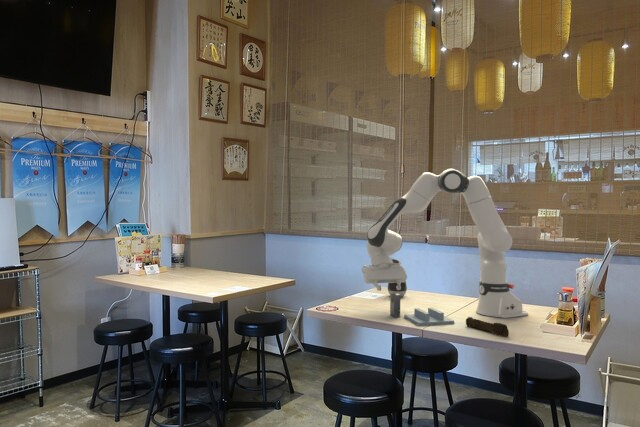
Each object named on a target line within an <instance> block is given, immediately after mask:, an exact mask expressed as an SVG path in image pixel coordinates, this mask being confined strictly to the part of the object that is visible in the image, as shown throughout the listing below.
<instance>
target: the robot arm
mask: <svg viewBox="0 0 640 427" xmlns="http://www.w3.org/2000/svg"><path fill="white" fill-rule="evenodd" d="M439 192H443V193H446V194H458V193H459V194H461V195H462V196H463V198H464V200H465V203H466V206H467V209H468V212H469V214H470V216H471V219H472V221H473V223H474V224H475V226H476V227H477V230H478V231H479V232H478V234H477V237H476V238H477V239H476V240H477V244H478V254H479V261H480V275H479V276H480V277H479V278H480V280H479V283H478V284H479V285H478V286H479V287H478V291H479V295H478V296H479V297H478V302H477V307H476V309H475V310H476V311H475V312H476V313H477V314H480V315H483V316H487V317H495V318H496V317H497V318H503V319H507V318H515V317H517V318H518V317H523V316H528V315H529V312H528V311H526V310H524V309H523V303H522V300H520V299H519V297H517V296H516V295H515V294H513V293H512V291H511V290H513V289H514V288H515V284H512V283H507V263H506V259H505V252H508V251H509V250H510V249H511V248H512V246H513V237H512V235H511V234H510V232H509V231H508V228H507V227H506V225H505V223H504V221H503V220H502V218H501V216H500V214H499V213H498V210H497V207H496V205H495V203H494V200H493V197H492V195H491V193H490V191H489V188H488V187H487V185H486V183H485V181H484V180H483V179H482V177H480V176H478V175H472V176H469V177H467V176H466V175H465V174H464V173H463V172H461V171H460V170H457V169H455V168H447V169H445V170H443V172H441V173H439V174H434V173H432V172H428V171H427V172H423V173H421V175H420V176H418V178H417V179H416V180H415V181H414V183H413V184H412V185H411V187H410V189H409V190H408V191H407V192H406V193H405V194H404V195H403V196H402V197H399V198H397V199H396V200H394V202H393V203H392V204H391V205H390V206H389V207H388V208H387V209H386V211H385V212H384V213H383V215H382V216H381V217H380V218H379V219H378V220H377V221H376V222H375V223H374V224H373V225H372V226H371V227H370V228H369V229H368V230H367V233H366V239H367V241H366V249H367V254H368V256H369V258H370V263H371V264H370V265H369V264H368V265H363V266H361V272H362V273H363V280H364V283H365V284H372V285H373V286H374V287H375V288H376V290H377V291H382V286H381V285H380V284H388V283H397V284H398V285H397V286H396V288H397V290H400V289H401V286H400V284H401V283H402V282H405V281H406V282H407V279H408V275H407V272H406V270H405V267H404V266H403V265H402V262H401V260H400V259H395V258H392V257H389V256H392V255H393V254H394V255H395V253H397V252H398V251H400V250H401V248H402V246H403V238H402V235H401V234H399V233H397V232H396V231H393V230H391V229H389V228H390V227H391V226H392V225H393V223H394V222H395V221H396V220H397V219H398V217H400V215H404V214H419V213H421V212H422V213H423V211H424V210H426V209H427V208H428V206H429V205H430V203H431V202H432V200H433V198H434V197H435V196H436V194H438V193H439ZM510 289H511V290H510Z"/></svg>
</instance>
